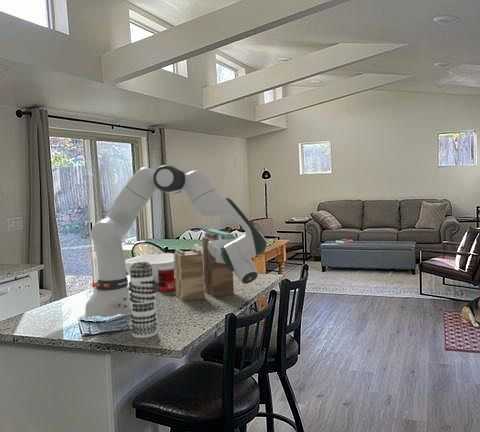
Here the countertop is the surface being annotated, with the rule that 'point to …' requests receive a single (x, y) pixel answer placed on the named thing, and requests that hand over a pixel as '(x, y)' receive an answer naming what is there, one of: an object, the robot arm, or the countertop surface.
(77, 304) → the countertop surface
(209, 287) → the end cap post
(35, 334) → the countertop surface
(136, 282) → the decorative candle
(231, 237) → the teal block
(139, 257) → the baking dish
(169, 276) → the canned food
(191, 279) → the tan wooden tall block
